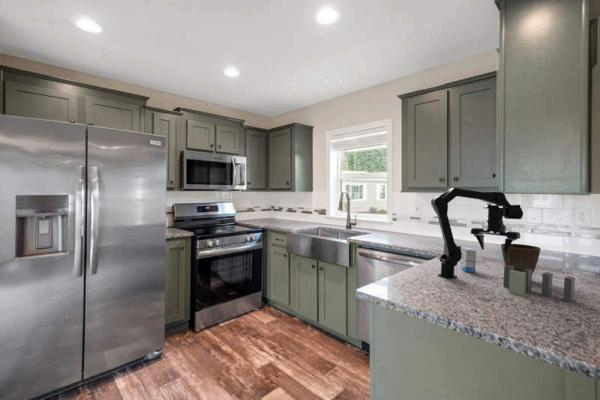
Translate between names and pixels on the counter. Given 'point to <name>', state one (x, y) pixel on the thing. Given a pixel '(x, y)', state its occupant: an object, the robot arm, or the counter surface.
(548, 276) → the domino
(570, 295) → the domino end
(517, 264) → the plant pot
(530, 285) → the domino
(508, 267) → the domino
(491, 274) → the counter surface
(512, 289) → the sage domino
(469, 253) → the ink box
